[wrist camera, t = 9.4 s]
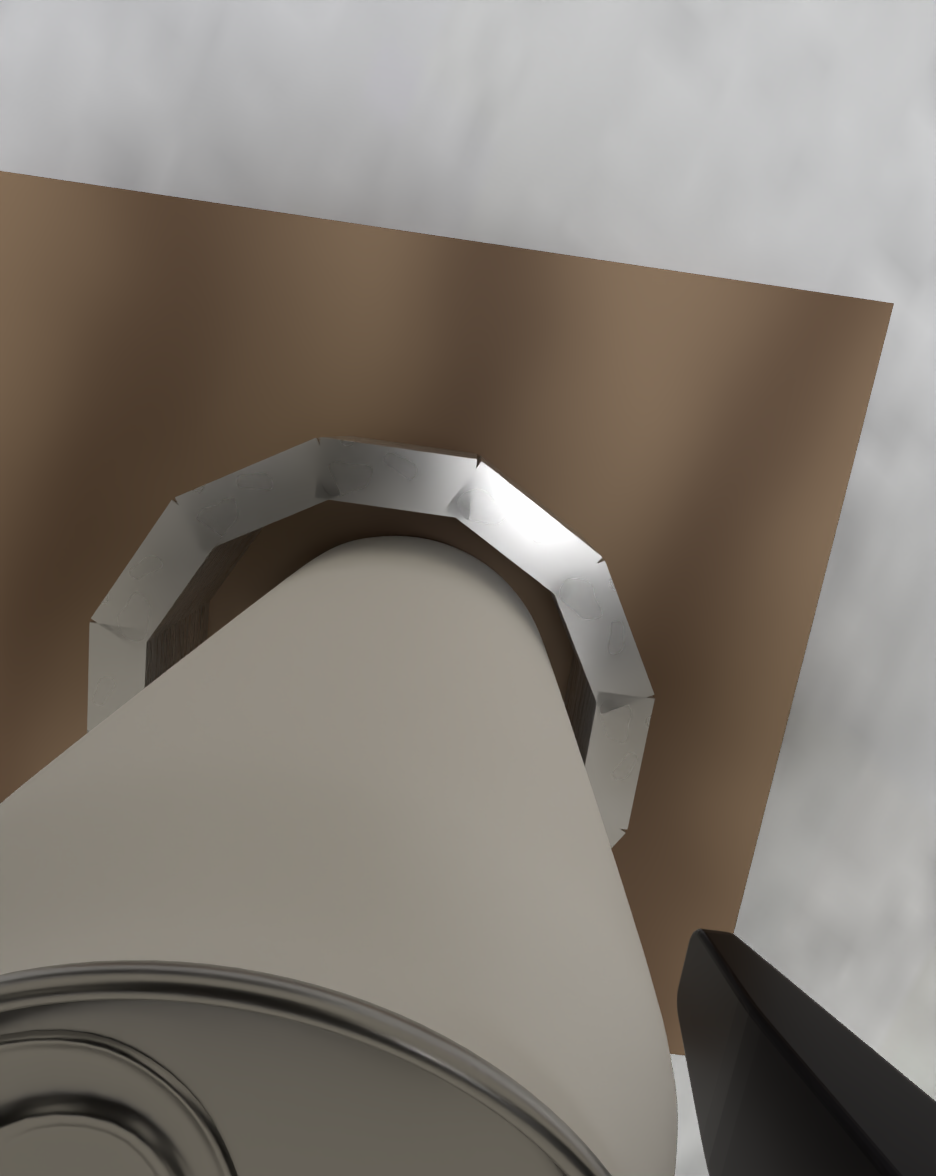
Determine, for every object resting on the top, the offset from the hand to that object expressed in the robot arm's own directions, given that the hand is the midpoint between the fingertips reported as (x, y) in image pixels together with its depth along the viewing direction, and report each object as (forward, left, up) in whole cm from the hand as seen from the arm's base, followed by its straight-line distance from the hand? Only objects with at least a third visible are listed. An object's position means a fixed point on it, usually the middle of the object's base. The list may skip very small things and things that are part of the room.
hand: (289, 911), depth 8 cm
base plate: (0, 0, -9) cm, 9 cm away
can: (0, 0, -8) cm, 8 cm away
